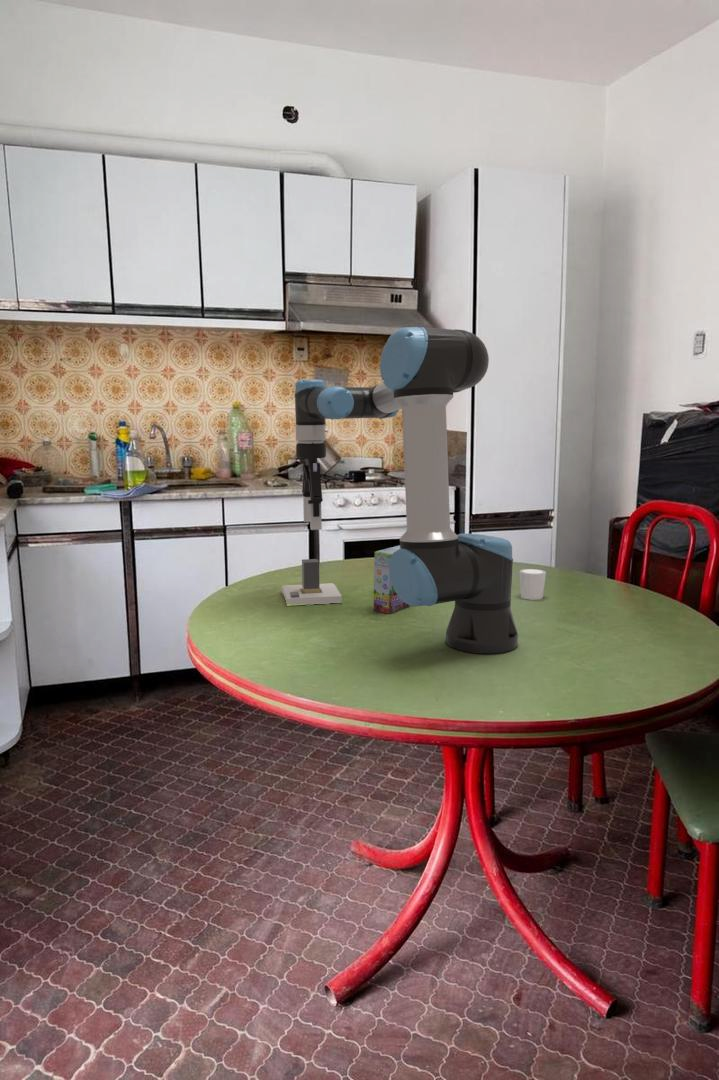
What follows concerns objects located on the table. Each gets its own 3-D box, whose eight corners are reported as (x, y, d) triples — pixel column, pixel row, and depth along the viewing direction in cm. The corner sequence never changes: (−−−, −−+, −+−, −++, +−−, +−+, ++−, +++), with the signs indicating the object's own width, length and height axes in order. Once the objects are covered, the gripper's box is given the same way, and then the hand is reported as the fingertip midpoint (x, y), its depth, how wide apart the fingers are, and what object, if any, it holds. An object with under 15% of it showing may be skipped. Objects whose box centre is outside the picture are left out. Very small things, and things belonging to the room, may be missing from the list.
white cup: (547, 600, 195) (548, 574, 194) (521, 600, 196) (522, 574, 194) (542, 593, 202) (543, 568, 201) (516, 593, 202) (517, 568, 201)
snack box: (391, 615, 183) (391, 553, 180) (372, 611, 186) (372, 551, 183) (437, 597, 199) (438, 540, 197) (419, 593, 203) (419, 538, 200)
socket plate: (341, 603, 193) (341, 593, 192) (286, 606, 190) (286, 596, 190) (333, 590, 206) (333, 580, 206) (282, 592, 204) (281, 583, 203)
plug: (319, 599, 197) (319, 562, 195) (304, 600, 196) (303, 562, 194) (317, 595, 200) (317, 558, 199) (302, 596, 200) (301, 559, 198)
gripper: (333, 444, 180) (334, 532, 183) (318, 439, 204) (319, 518, 208) (302, 444, 178) (303, 533, 182) (290, 440, 202) (292, 518, 206)
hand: (312, 525), depth 195 cm, fingers open, 13 cm apart
